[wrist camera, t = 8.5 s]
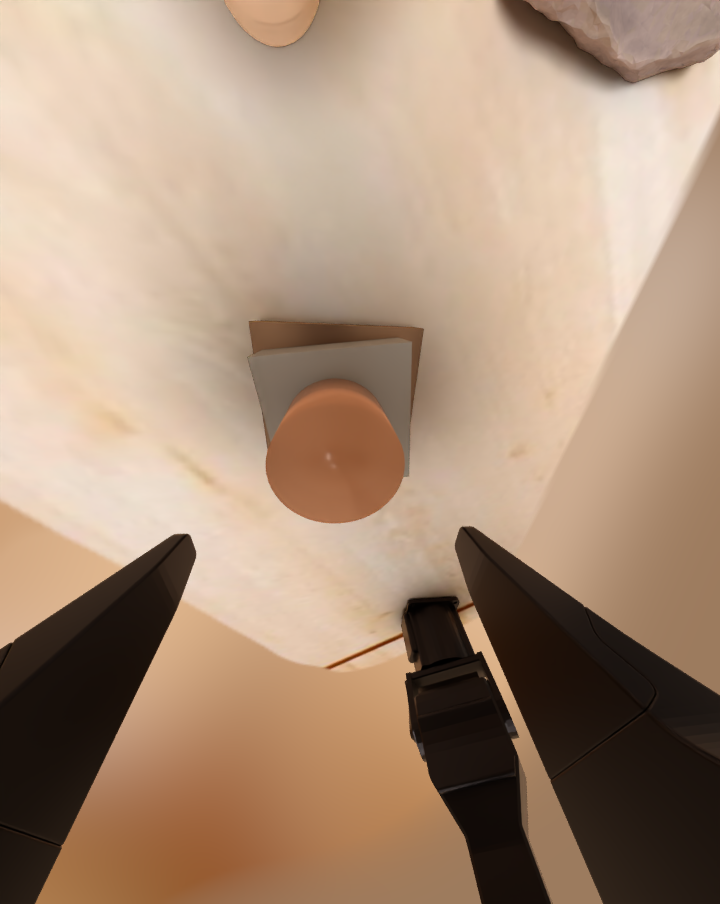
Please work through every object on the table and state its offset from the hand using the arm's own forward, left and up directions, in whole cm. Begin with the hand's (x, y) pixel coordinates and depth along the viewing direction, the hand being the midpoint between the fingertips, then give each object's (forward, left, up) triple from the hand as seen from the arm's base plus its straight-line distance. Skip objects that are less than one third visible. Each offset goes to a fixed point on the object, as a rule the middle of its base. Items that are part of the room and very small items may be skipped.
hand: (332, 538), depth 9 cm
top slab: (0, -1, -10) cm, 10 cm away
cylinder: (0, -1, -7) cm, 7 cm away
